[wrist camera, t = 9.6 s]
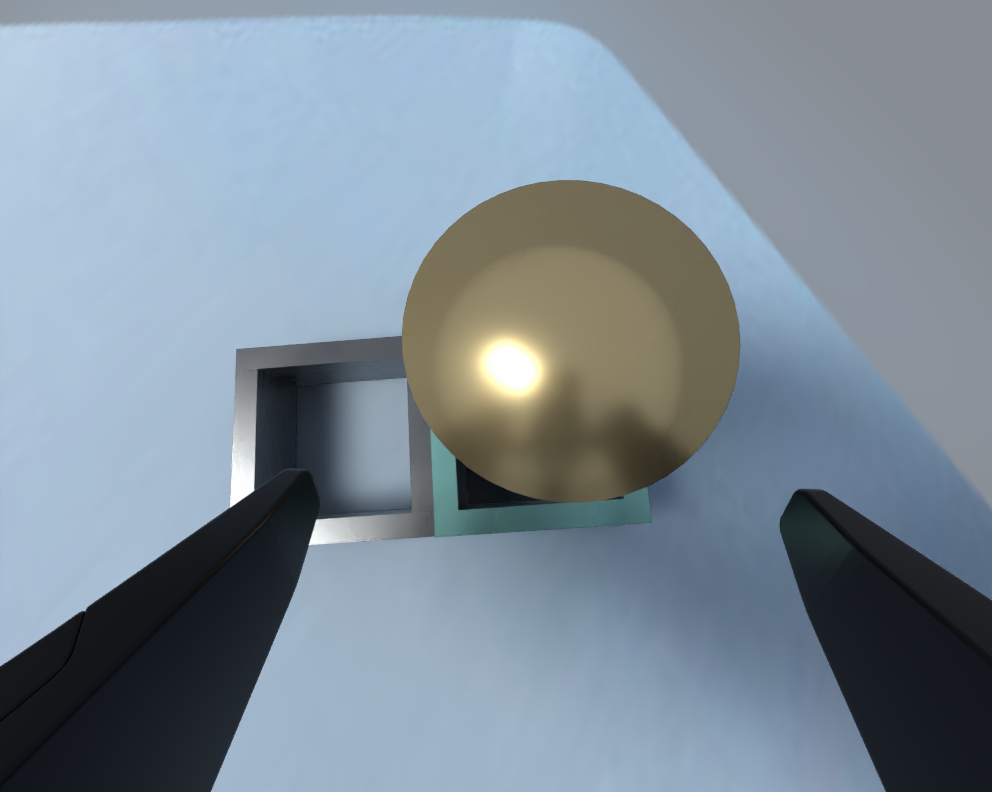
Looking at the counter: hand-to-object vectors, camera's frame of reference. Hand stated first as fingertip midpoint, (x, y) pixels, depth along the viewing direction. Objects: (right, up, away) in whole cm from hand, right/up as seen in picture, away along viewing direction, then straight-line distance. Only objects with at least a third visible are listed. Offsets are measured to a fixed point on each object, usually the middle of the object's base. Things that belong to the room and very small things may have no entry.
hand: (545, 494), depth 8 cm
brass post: (0, 0, +10) cm, 10 cm away
